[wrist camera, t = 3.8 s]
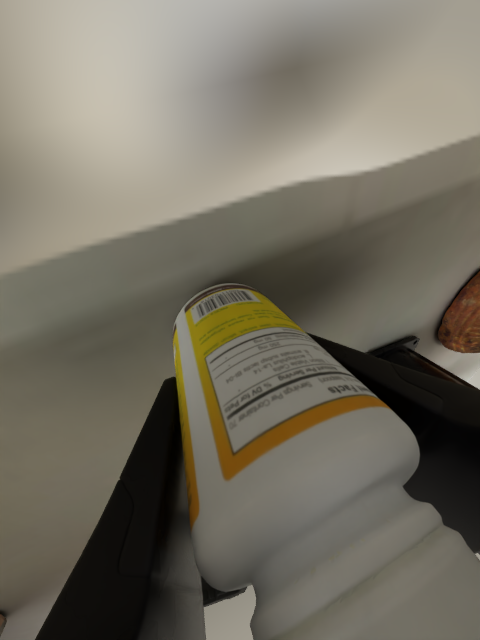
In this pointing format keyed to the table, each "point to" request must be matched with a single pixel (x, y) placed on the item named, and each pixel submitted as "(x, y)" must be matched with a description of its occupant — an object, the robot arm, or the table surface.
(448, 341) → the bell
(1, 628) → the vase
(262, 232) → the table surface
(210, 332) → the supplement bottle
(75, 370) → the table surface
